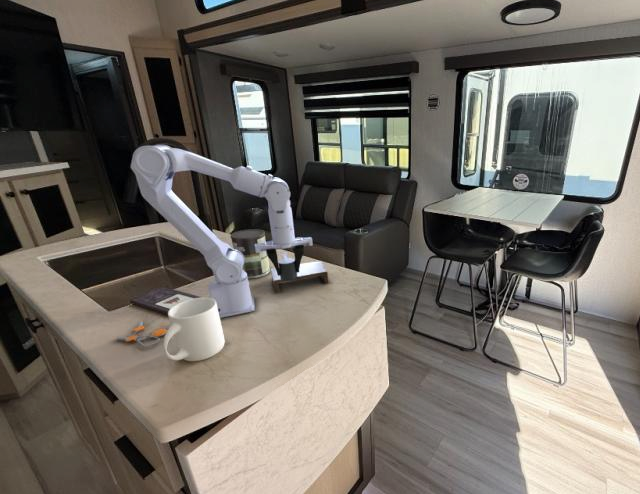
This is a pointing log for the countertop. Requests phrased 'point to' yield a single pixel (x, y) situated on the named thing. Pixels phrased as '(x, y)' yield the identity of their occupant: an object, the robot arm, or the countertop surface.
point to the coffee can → (251, 252)
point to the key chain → (140, 338)
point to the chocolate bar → (162, 299)
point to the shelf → (303, 273)
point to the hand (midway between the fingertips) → (288, 272)
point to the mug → (195, 330)
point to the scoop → (287, 268)
